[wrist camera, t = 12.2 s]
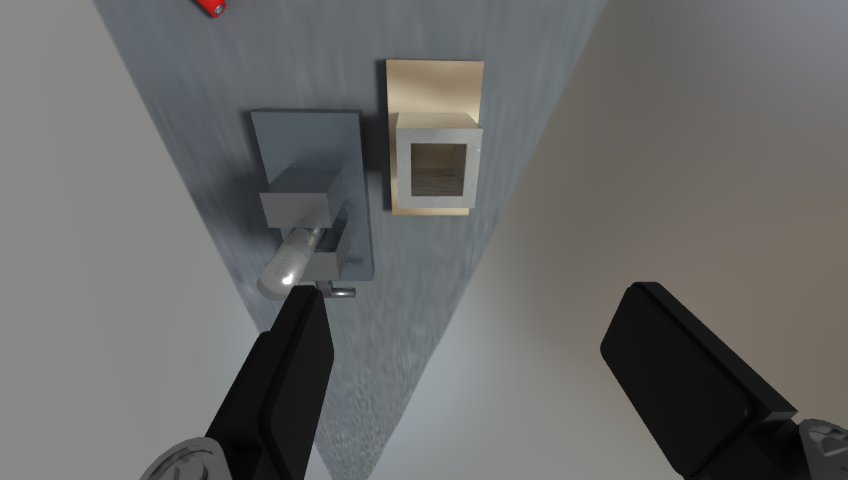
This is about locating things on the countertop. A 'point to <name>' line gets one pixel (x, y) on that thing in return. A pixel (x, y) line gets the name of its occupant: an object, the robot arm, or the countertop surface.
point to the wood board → (430, 93)
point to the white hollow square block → (438, 183)
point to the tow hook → (213, 6)
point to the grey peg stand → (315, 199)
